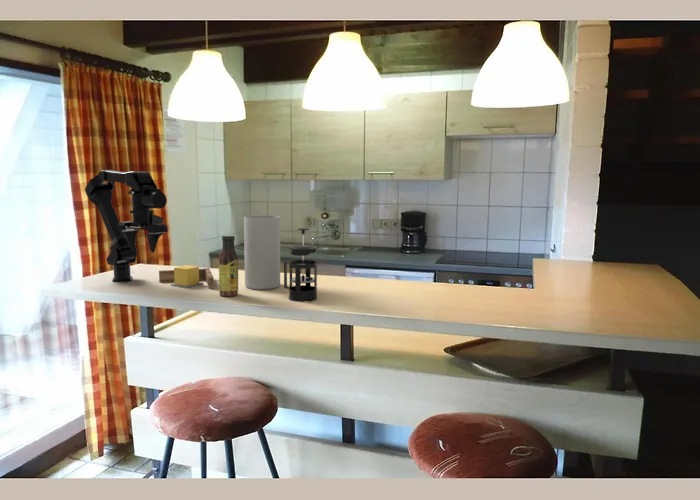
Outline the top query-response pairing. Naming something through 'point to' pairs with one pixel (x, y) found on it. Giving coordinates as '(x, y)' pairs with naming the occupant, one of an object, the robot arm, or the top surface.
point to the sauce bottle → (228, 267)
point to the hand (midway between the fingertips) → (143, 251)
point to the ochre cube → (186, 275)
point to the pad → (187, 286)
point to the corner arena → (203, 275)
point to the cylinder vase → (262, 251)
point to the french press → (300, 291)
